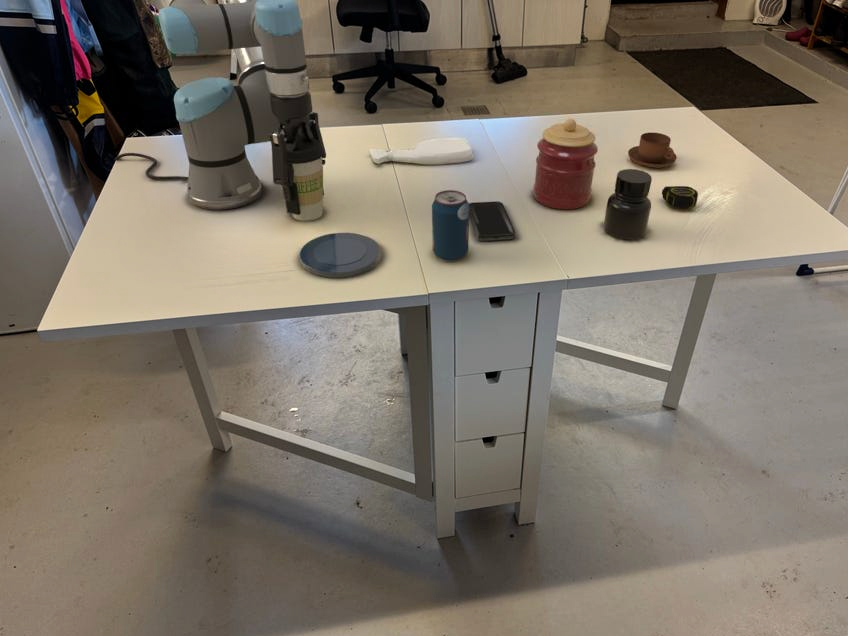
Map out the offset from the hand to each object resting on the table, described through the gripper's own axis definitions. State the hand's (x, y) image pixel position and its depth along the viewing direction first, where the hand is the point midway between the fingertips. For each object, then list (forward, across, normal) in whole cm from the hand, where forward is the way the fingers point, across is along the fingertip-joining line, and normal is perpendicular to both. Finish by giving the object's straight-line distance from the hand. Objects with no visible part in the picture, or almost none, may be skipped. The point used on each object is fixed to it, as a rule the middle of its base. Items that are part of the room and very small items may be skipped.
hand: (306, 203), depth 138 cm
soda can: (+3, -4, -34) cm, 34 cm away
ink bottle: (+3, +19, -64) cm, 67 cm away
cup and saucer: (+3, +58, -64) cm, 86 cm away
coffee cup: (+3, 0, 0) cm, 3 cm away
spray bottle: (+3, +37, -10) cm, 38 cm away
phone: (+2, +11, -37) cm, 39 cm away
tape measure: (+3, +36, -73) cm, 81 cm away
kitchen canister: (+3, +29, -48) cm, 56 cm away
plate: (+2, -13, -15) cm, 20 cm away
